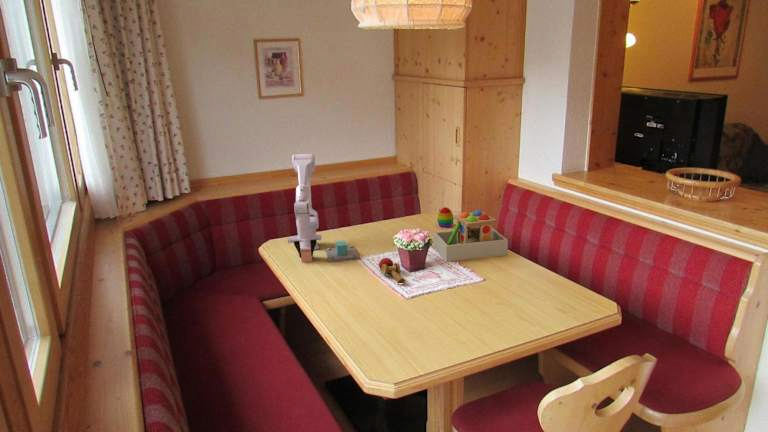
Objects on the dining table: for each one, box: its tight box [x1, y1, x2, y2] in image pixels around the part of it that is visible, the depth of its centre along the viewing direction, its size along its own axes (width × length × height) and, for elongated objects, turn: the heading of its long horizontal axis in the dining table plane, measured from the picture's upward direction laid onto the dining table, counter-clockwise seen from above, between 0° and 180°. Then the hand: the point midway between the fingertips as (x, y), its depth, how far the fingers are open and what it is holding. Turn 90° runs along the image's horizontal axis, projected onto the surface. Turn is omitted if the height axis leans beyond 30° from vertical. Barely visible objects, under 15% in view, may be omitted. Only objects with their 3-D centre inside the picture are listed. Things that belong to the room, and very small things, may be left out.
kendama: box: [378, 257, 406, 285], centre depth 221 cm, size 8×6×18 cm
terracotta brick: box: [300, 247, 313, 264], centre depth 241 cm, size 6×4×4 cm
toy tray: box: [433, 227, 509, 263], centre depth 245 cm, size 19×28×7 cm
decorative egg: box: [437, 207, 455, 229], centre depth 279 cm, size 8×8×10 cm
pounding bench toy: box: [447, 209, 497, 245], centre depth 242 cm, size 23×14×18 cm, turn 109°
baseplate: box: [325, 245, 360, 263], centre depth 246 cm, size 14×13×2 cm
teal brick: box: [335, 240, 348, 255], centre depth 245 cm, size 6×4×4 cm
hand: (306, 256), depth 242 cm, fingers closed on terracotta brick, 4 cm apart
